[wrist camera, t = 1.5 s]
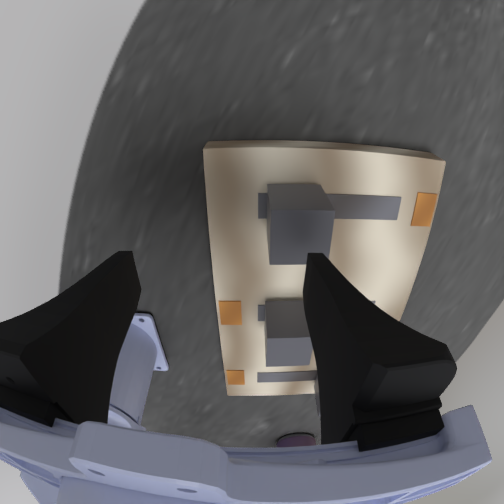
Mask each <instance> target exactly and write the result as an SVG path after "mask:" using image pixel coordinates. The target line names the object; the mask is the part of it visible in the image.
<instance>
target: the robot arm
mask: <svg viewBox="0 0 504 504" xmlns="http://www.w3.org/2000/svg"><path fill="white" fill-rule="evenodd" d="M140 293H141V286H140V282H139V278H138V274H137V270H136V266H135V262H134V258H133V253H132V251H118V252H117V253H115V254H114V255H112V256H111V257H109V258H108V259H107V260H105V261H104V262H103V263H102V264H100V265H99V266H98V267H96V268H95V269H94V270H93V271H91V272H90V273H89V274H87V275H86V276H85V277H83V278H82V279H81V280H79V281H78V282H77V283H75V284H74V285H72V286H71V287H70V288H68V289H67V290H65V291H64V292H62V293H61V294H59V295H58V296H56V297H55V298H53V299H51V300H50V301H48V302H46V303H44V304H42V305H40V306H38V307H36V308H34V309H32V310H30V311H28V312H26V313H24V314H22V315H19V316H17V317H14V318H12V319H9V320H6V321H3V322H1V323H0V459H1V460H2V461H4V462H6V463H8V464H10V465H11V466H13V467H15V468H17V469H19V470H20V471H21V474H20V476H21V478H22V480H23V482H24V483H25V485H26V486H27V487H28V489H29V490H30V491H31V493H32V494H33V496H34V497H35V498H36V500H37V501H38V502H39V503H40V504H403V503H406V502H410V501H413V500H415V499H418V498H421V497H424V496H427V495H430V494H432V493H435V492H438V491H440V490H443V489H445V488H448V487H450V486H453V485H455V484H457V483H459V482H460V481H462V480H464V479H465V478H467V477H469V476H470V475H472V474H473V473H475V472H477V471H478V470H480V469H481V468H483V467H484V466H486V465H487V464H489V463H490V462H491V461H492V457H491V454H490V451H489V448H488V445H487V442H486V439H485V436H484V434H483V431H482V428H481V426H480V423H479V420H478V418H477V415H476V412H475V410H474V408H473V405H468V406H465V407H462V408H459V409H456V410H452V411H449V412H447V413H445V414H444V415H442V416H441V414H440V412H439V408H440V407H442V403H441V400H440V398H439V396H440V395H441V394H442V393H443V392H444V390H445V389H446V388H447V386H448V385H449V384H450V382H451V381H452V380H453V378H454V376H455V374H456V370H457V366H456V363H455V361H454V359H453V357H452V355H451V353H450V351H449V349H448V347H447V345H446V344H444V343H442V342H439V341H437V340H435V339H432V338H430V337H428V336H425V335H423V334H421V333H419V332H417V331H415V330H413V329H412V328H410V327H408V326H406V325H404V324H403V323H401V322H399V321H398V320H396V319H395V318H393V317H392V316H390V315H389V314H387V313H386V312H384V311H383V310H381V309H380V308H379V307H378V306H376V305H375V304H374V303H372V302H371V301H370V300H369V299H368V298H366V297H365V296H364V295H363V294H362V293H361V292H360V291H359V290H358V289H356V288H355V287H354V286H353V285H352V284H351V283H350V282H349V281H348V280H347V279H346V278H345V277H344V276H343V275H342V274H341V272H340V271H339V270H338V269H337V268H336V267H335V266H334V265H333V264H332V263H331V261H330V260H329V259H328V258H327V257H326V256H325V255H324V254H323V253H308V255H307V263H306V270H305V278H304V285H303V292H302V293H303V303H304V312H305V317H306V321H307V326H308V330H309V334H310V338H311V343H312V347H313V351H314V356H315V361H316V367H317V376H318V386H319V399H320V416H321V445H313V446H299V447H277V448H235V447H219V446H218V445H217V444H214V443H211V442H209V441H206V440H203V439H198V438H192V437H187V436H181V435H172V434H164V433H156V432H149V431H146V428H145V427H142V426H140V425H141V420H142V416H143V411H144V407H145V402H146V398H147V394H148V390H149V386H150V382H151V378H152V374H153V370H159V371H167V370H168V368H169V366H168V363H167V360H166V357H165V354H164V351H163V348H162V345H161V342H160V339H159V335H158V332H157V329H156V326H155V322H154V319H153V317H152V316H151V315H150V314H143V313H135V312H136V309H137V305H138V301H139V297H140ZM141 318H142V319H141Z"/></svg>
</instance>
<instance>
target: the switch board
mask: <svg viewBox="0 0 504 504" xmlns="http://www.w3.org/2000/svg"><path fill="white" fill-rule="evenodd" d="M203 158H204V173H205V187H206V200H207V213H208V225H209V237H210V248H211V258H212V268H213V278H214V288H215V297H216V306H217V315H218V324H219V332H220V341H221V349H222V356H223V364H224V372H225V379H226V386H227V393H228V395H230V396H264V395H293V394H310V393H315V391H314V384H315V381H316V377H317V367H316V361H315V356H314V351H313V350H312V355H311V360H310V364H309V365H304V366H280V367H266V357H265V333H264V326H265V301H296V300H303V293H302V292H303V285H304V278H305V270H306V265H269V254H268V242H267V184H318V185H321V187H322V188H323V190H324V192H325V193H326V195H327V197H328V199H329V200H330V202H331V204H332V206H333V207H334V209H335V217H334V225H333V233H332V240H331V247H330V254H329V260H330V261H331V263H332V264H333V265H334V266H335V267H336V268H337V269H338V270H339V271H340V272H341V274H342V275H343V276H344V277H345V278H346V279H347V280H348V281H349V282H350V283H351V284H352V285H353V286H354V287H355V288H356V289H358V290H359V291H360V292H361V293H362V294H363V295H364V296H365V297H366V298H368V299H369V300H370V301H371V302H372V303H374V304H375V305H376V306H378V307H379V308H380V309H381V310H383V311H384V312H386V313H387V314H389V315H390V316H392V317H393V318H395V319H396V320H398V321H400V318H401V316H402V313H403V311H404V308H405V306H406V303H407V300H408V298H409V295H410V292H411V289H412V287H413V284H414V281H415V278H416V275H417V272H418V269H419V266H420V263H421V260H422V256H423V253H424V250H425V247H426V243H427V240H428V236H429V233H430V229H431V225H432V222H433V218H434V214H435V210H436V206H437V201H438V197H439V193H440V188H441V183H442V178H443V173H444V168H445V163H446V161H444V160H442V159H441V158H439V157H437V156H436V155H434V154H432V153H429V152H422V151H415V150H408V149H400V148H392V147H383V146H373V145H362V144H350V143H336V142H318V141H290V140H234V141H208V142H207V143H206V145H205V146H204V148H203Z"/></svg>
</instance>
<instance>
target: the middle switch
mask: <svg viewBox="0 0 504 504" xmlns="http://www.w3.org/2000/svg"><path fill="white" fill-rule="evenodd" d="M264 333H265V357H266V367H280V366H304V365H309V364H310V360H311V355H312V350H313V347H312V343H311V338H310V334H309V330H308V326H307V321H306V317H305V312H304V303H303V300H296V301H265V326H264Z"/></svg>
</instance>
